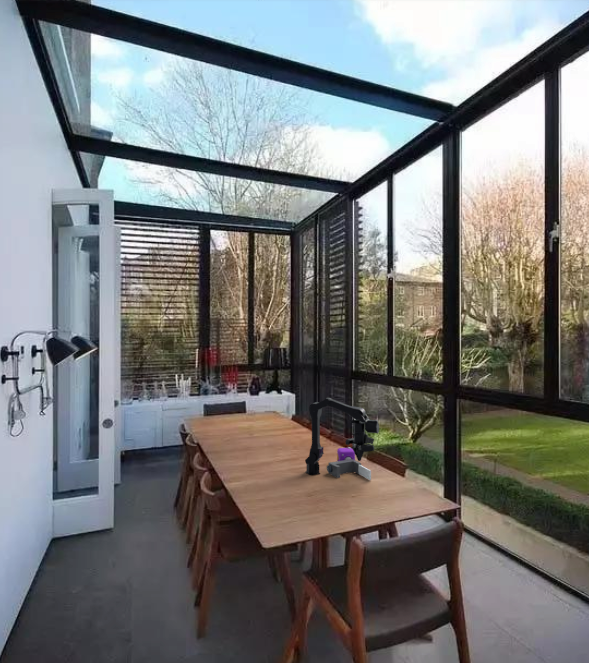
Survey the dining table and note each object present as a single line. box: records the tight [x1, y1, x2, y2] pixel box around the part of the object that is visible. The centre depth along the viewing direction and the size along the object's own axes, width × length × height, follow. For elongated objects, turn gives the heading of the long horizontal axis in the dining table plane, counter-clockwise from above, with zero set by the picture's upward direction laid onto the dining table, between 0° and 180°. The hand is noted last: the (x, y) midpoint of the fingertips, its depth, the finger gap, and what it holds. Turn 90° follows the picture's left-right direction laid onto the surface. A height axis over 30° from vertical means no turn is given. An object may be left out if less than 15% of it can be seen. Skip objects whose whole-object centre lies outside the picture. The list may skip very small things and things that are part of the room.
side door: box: [357, 464, 372, 481], centre depth 233 cm, size 11×1×5 cm, turn 22°
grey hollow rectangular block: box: [326, 459, 362, 479], centre depth 239 cm, size 17×9×6 cm, turn 117°
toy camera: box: [336, 446, 356, 461], centre depth 254 cm, size 11×14×10 cm
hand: (359, 460), depth 229 cm, fingers closed
